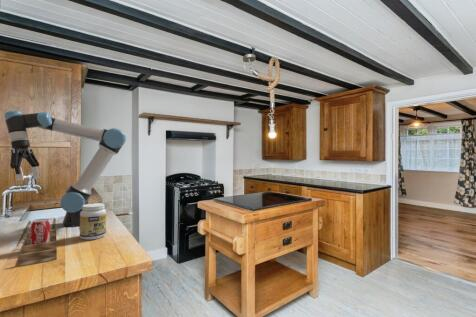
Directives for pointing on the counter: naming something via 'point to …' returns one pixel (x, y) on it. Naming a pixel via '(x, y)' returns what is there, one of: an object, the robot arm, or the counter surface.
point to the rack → (38, 250)
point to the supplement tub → (92, 221)
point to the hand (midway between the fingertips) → (29, 179)
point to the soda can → (40, 231)
